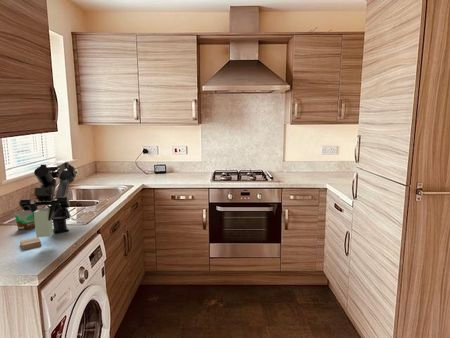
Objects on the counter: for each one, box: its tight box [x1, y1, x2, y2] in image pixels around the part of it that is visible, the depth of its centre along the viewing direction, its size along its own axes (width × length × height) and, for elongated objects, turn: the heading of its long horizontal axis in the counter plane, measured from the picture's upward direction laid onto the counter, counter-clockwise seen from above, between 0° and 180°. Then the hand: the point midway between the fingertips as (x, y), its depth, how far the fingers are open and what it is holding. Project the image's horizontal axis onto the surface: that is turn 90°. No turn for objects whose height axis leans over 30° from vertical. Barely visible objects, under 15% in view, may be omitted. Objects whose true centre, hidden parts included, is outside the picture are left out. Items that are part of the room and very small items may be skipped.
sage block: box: [34, 207, 54, 238], centre depth 137 cm, size 5×5×11 cm
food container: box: [13, 209, 35, 231], centre depth 164 cm, size 12×6×10 cm, turn 170°
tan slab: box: [19, 236, 42, 251], centre depth 141 cm, size 7×7×2 cm
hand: (42, 220), depth 136 cm, fingers closed on sage block, 5 cm apart
